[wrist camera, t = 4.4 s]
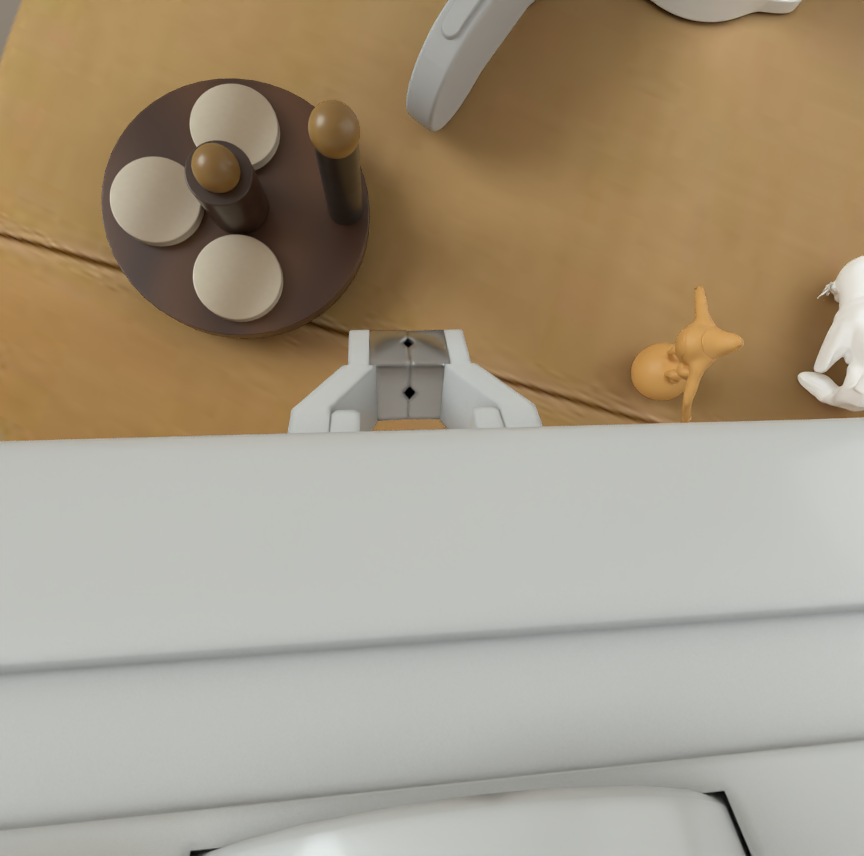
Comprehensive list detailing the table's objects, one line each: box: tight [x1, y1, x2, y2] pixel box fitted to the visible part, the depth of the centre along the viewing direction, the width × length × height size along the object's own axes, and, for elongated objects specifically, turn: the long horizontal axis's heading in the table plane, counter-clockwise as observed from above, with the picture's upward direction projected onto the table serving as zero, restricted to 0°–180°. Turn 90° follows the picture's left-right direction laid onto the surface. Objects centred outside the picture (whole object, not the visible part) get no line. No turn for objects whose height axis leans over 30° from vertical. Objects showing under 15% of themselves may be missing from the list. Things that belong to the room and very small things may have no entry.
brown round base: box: [102, 79, 370, 339], centre depth 27 cm, size 16×16×11 cm
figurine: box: [631, 286, 744, 423], centre depth 31 cm, size 8×6×12 cm
